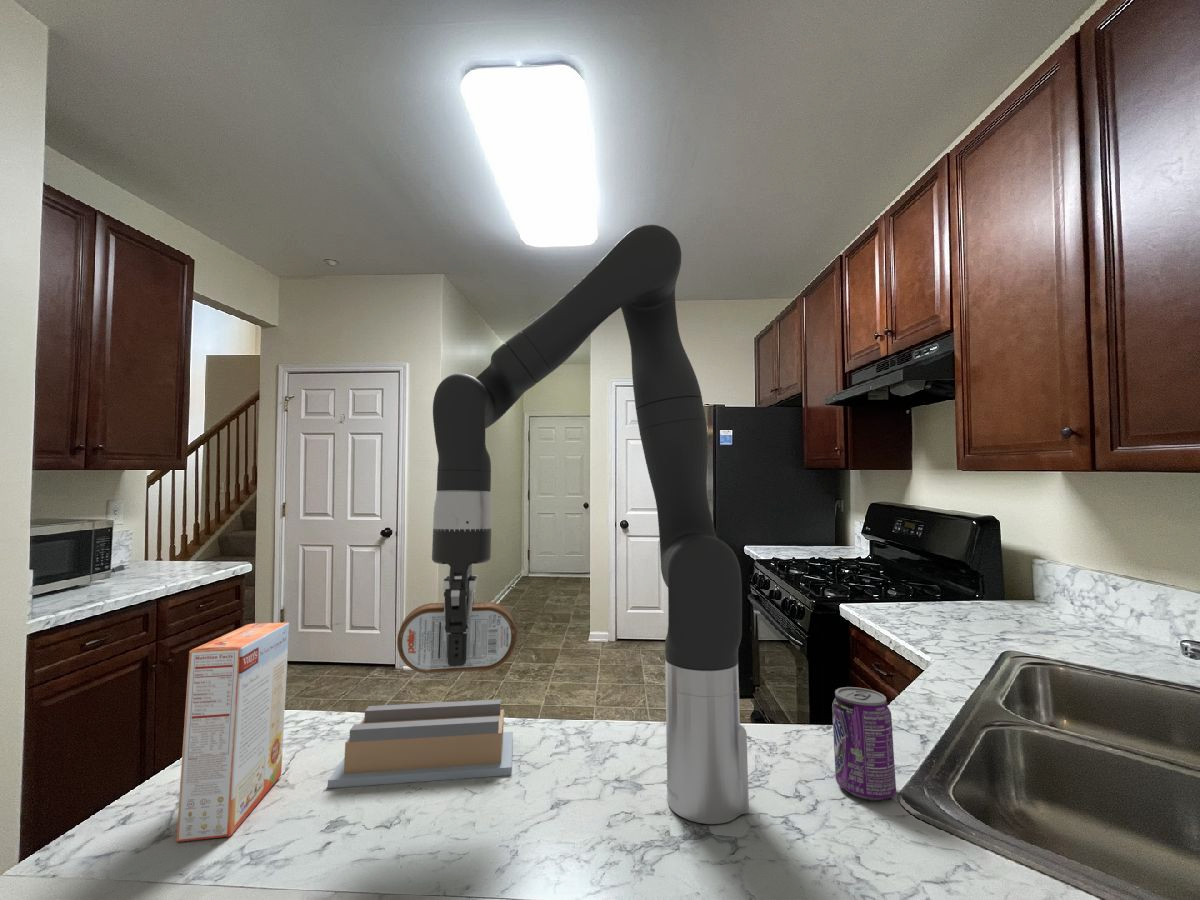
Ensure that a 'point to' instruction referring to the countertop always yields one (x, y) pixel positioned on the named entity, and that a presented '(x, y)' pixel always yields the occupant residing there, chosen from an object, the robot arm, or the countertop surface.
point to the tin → (428, 639)
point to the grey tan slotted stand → (426, 744)
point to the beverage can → (863, 743)
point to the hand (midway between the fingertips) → (458, 660)
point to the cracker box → (232, 728)
